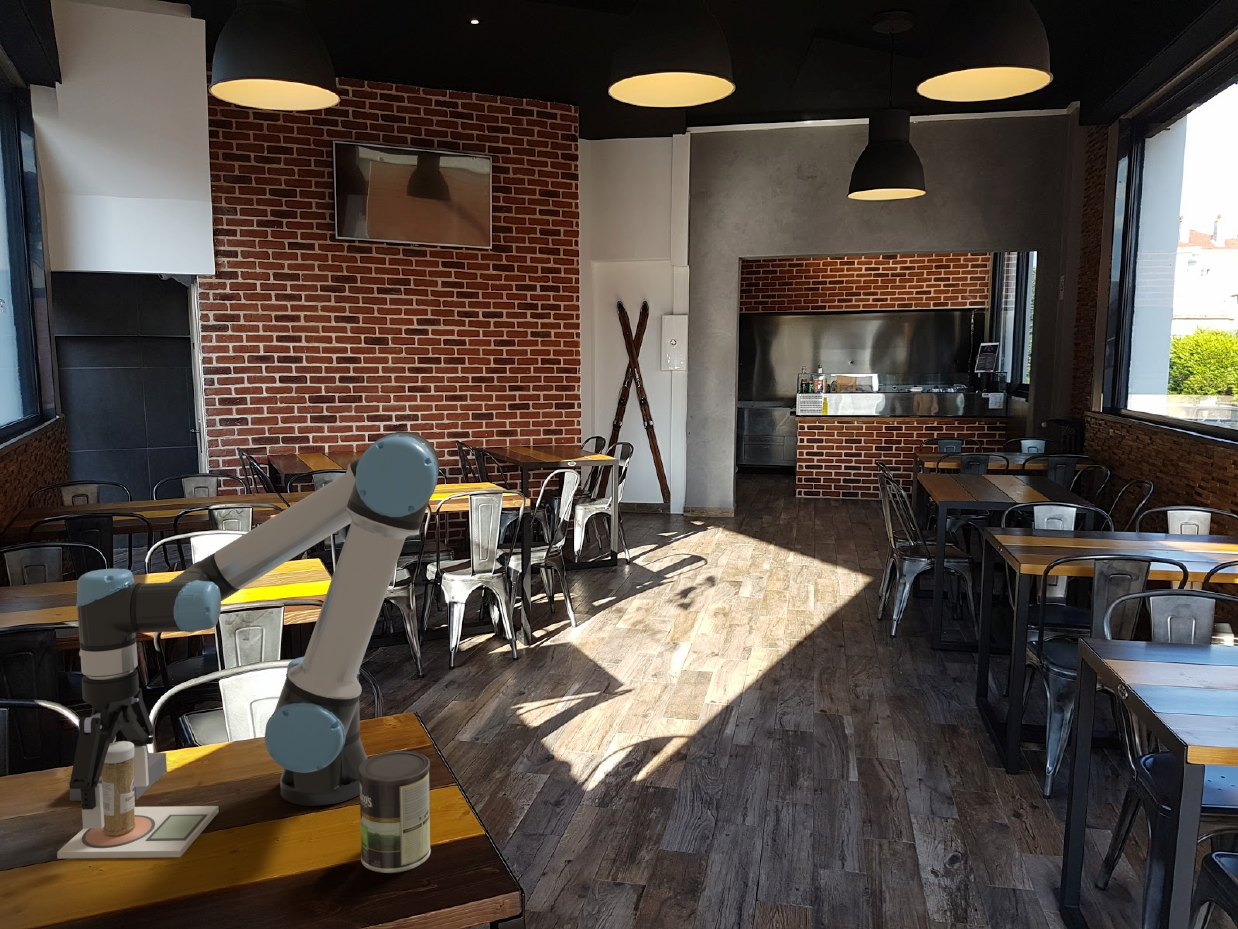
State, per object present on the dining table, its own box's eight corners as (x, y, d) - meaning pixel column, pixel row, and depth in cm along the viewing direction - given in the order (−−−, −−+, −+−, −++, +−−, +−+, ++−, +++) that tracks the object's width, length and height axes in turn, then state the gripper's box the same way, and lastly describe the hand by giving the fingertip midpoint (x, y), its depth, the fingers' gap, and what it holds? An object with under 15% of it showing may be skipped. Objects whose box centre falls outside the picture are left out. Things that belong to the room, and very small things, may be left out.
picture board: (218, 812, 151) (218, 805, 151) (180, 857, 137) (179, 850, 137) (107, 813, 150) (107, 806, 150) (57, 858, 136) (57, 851, 136)
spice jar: (137, 832, 142) (135, 748, 141) (103, 839, 139) (101, 754, 138) (134, 820, 146) (132, 738, 144) (101, 827, 143) (99, 743, 142)
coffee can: (365, 880, 131) (362, 785, 129) (357, 845, 140) (354, 756, 139) (437, 865, 135) (435, 773, 133) (425, 832, 144) (423, 746, 143)
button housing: (166, 771, 166) (165, 752, 165) (136, 800, 155) (135, 780, 154) (105, 772, 165) (103, 753, 165) (70, 800, 154) (69, 780, 154)
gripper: (126, 647, 152) (133, 770, 154) (35, 701, 127) (44, 847, 129) (172, 646, 152) (178, 770, 154) (90, 701, 127) (98, 847, 130)
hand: (117, 805), depth 142 cm, fingers open, 13 cm apart
